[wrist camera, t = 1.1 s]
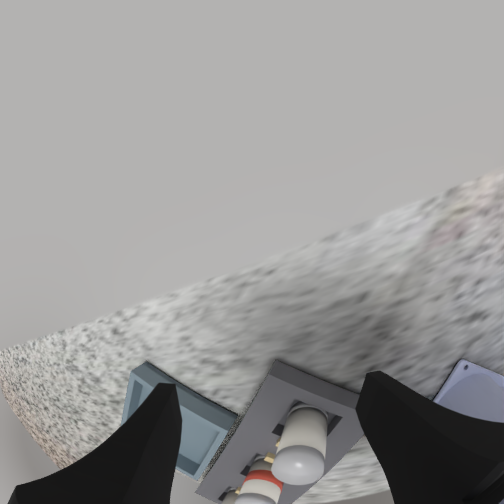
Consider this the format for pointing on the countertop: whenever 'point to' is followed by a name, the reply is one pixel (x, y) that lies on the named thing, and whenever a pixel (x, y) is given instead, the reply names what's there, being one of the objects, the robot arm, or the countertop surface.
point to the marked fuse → (260, 484)
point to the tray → (193, 415)
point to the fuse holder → (271, 428)
